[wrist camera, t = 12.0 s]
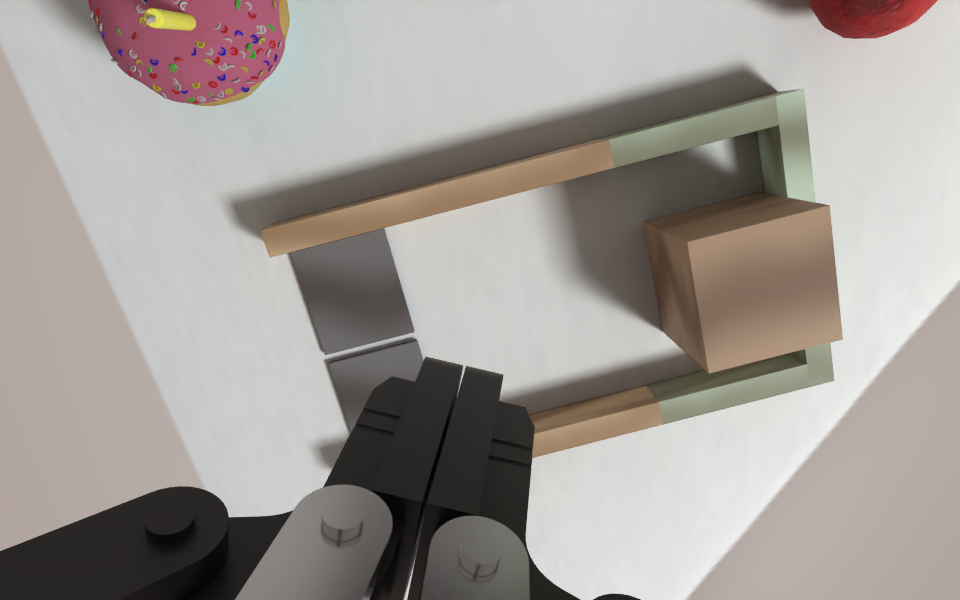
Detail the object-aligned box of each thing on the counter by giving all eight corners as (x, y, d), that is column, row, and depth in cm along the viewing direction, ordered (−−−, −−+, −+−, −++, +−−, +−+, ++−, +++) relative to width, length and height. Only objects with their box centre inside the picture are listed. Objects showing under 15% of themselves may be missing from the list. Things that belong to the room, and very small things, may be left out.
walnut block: (642, 221, 37) (687, 242, 30) (758, 191, 37) (829, 205, 30) (662, 331, 39) (709, 373, 32) (772, 303, 39) (842, 339, 32)
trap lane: (272, 223, 35) (260, 230, 33) (778, 91, 35) (803, 88, 33) (361, 480, 40) (355, 503, 38) (810, 365, 40) (834, 380, 37)
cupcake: (340, 47, 33) (286, 0, 22) (217, 143, 34) (103, 147, 23) (231, -104, 31) (107, -244, 20) (103, 2, 32) (-87, -72, 20)
